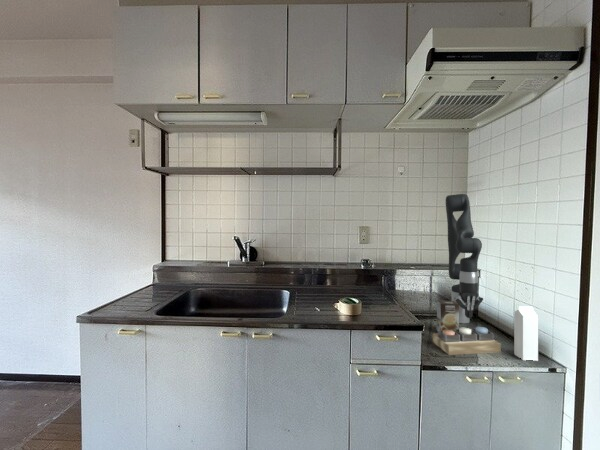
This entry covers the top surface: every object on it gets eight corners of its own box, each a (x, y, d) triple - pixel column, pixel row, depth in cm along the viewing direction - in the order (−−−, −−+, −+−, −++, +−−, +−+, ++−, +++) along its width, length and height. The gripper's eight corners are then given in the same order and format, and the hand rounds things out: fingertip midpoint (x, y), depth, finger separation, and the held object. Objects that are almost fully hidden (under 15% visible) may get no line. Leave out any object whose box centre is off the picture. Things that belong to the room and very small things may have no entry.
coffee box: (440, 334, 155) (440, 303, 155) (436, 329, 161) (436, 300, 161) (459, 334, 154) (459, 303, 154) (454, 330, 160) (454, 300, 160)
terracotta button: (440, 335, 141) (440, 330, 141) (450, 334, 142) (450, 329, 142) (446, 339, 136) (446, 334, 136) (456, 339, 137) (456, 333, 137)
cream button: (456, 332, 142) (456, 327, 142) (467, 332, 142) (466, 327, 142) (463, 336, 137) (463, 331, 137) (473, 336, 137) (473, 331, 137)
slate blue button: (473, 332, 142) (473, 326, 142) (483, 331, 143) (483, 326, 143) (480, 336, 137) (480, 330, 137) (490, 335, 138) (490, 330, 138)
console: (432, 341, 146) (432, 327, 146) (479, 339, 147) (479, 325, 147) (448, 354, 132) (448, 338, 132) (500, 352, 133) (500, 336, 133)
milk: (514, 354, 132) (513, 304, 131) (528, 354, 131) (528, 304, 131) (523, 360, 126) (522, 308, 125) (538, 361, 125) (538, 308, 125)
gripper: (477, 278, 144) (477, 314, 144) (450, 279, 143) (450, 315, 144) (487, 282, 136) (487, 319, 137) (459, 282, 136) (459, 320, 136)
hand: (468, 317), depth 140 cm, fingers closed
